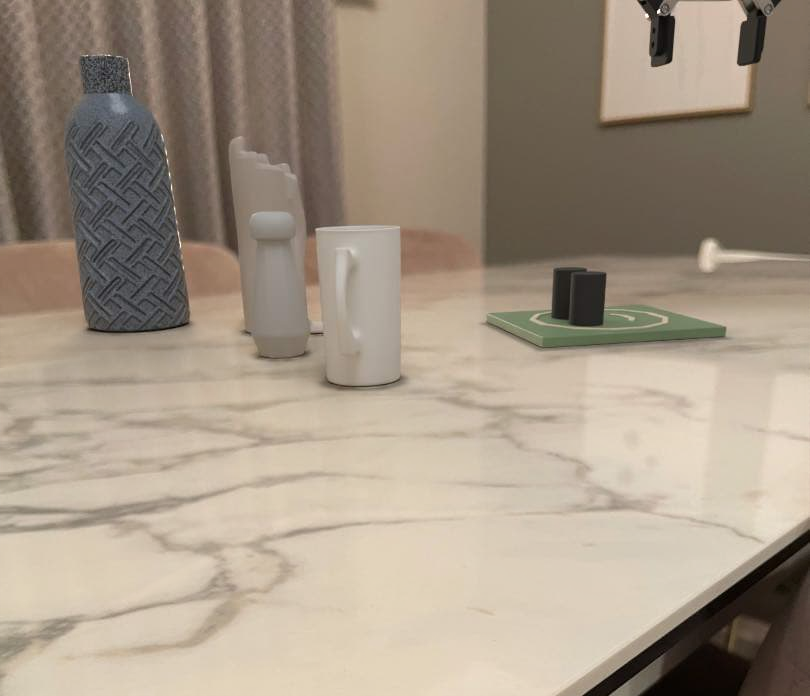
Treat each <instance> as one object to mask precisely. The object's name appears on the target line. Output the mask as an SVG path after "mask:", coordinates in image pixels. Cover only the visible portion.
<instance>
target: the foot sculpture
mask: <svg viewBox="0 0 810 696" xmlns="http://www.w3.org/2000/svg"><path fill="white" fill-rule="evenodd" d="M246 148H247V147H246V138H245V137H244V136H242V135H239V136H236V137H234V138H233V139H231V140H230V142H229V146H228V159H229V169H230V170H229V171H230V180H231V182H230V183H231V191H232V192H231V193H232V201H233V209H234V210H233V211H234V217H235V225H236V237H237V247H238V263H239V277H240V289H241V300H242V308H243V309H242V310H243V320H244V322H243V323H244V330H245V332H247V333H250V334H251V331H250V330H251V317H252V303H253V289H254V276H255V262H256V248H257V240H255V239H253V238H251V235H250V230H249V221H250V218H251V217H252V215H253V214H256V213H258V212H273V211H280V212H287V213H290V214H291V215H292V216H293V217H294V220H295V224H296V234H295V237H294V238H292V239H290V243H291V247H292V251H293V256H294V260H295V264H296V268H297V273H298V277H299V281H300V285H301V290H302V294H303V298H304V302H305V307H306V311H307V315H308V301H307V299H308V298H307V283H306V268H305V267H306V266H305V255H306V252H307V247H308V243H307V241H308V239H307V221H306V216H305V210H304V206H303V202H302V197H301V192H300V188H299V181H298V176H297V175H296V174H294V173H292V171H291V166H290V164H289V163H287V162H283V163H280V164H279V163H278V164H274V165H273V164H271V163H270V161H269V156H268V155H267V154H265V153H258V152H256V151H248V150H247V149H246ZM308 316H309V315H308ZM309 324H310V328H311V330H310V334H323V324H322V320H310V319H309Z"/></svg>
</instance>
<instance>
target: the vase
mask: <svg viewBox="0 0 810 696" xmlns="http://www.w3.org/2000/svg"><path fill="white" fill-rule="evenodd" d="M77 62H78V68H79V75H80V82H81V88H82V89H81V90H82V94H83V95H82V96H81V98H80V99H79V100H78V101H77V102H76V103H75V104H74V105H73V107H72V108H71V109H70V111H69V113H68V115H67V117H66V120H65V123H64V128H63V155H64V164H65V172H66V181H67V187H68V196H69V205H70V212H71V219H72V228H73V236H74V243H75V253H76V259H77V268H78V275H79V283H80V291H81V298H82V299H81V300H82V307H83V314H84V319H85V322H86V324H87V326H88V328H90V329H93V330H97V331H101V332H111V333H112V332H113V333H131V332H133V333H134V332H149V331H158V330H166V329H171V328H175V327H179V326H182V325H184V324H186V323H188V322H189V321H190V318H191V308H190V300H189V293H188V286H187V279H186V274H185V272H186V271H185V266H184V261H183V252H182V247H181V246H182V245H181V240H180V239H181V238H180V235H179V234H180V232H179V225H178V219H177V213H176V206H175V199H174V192H173V187H172V186H173V185H172V180H171V173H170V165H169V159H168V154H167V149H166V143H165V141H164V136H163V134H162V129H160V126H159V124H158V122H157V120H156V118H155V117H154V116H153V114H152V113H151V112H150V110H149V109H148V108H147V107H146V106H144V104H142V103H141V102H140V101H139V100H138V99H136V98H135V97H134V95H133V90H132V81H131V75H130V66H129V59H128V58H127V57H124V56H122V55H121V56H120V55H111V54H88V55H80V56H79V57H78V58H77Z"/></svg>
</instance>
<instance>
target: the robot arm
mask: <svg viewBox="0 0 810 696" xmlns="http://www.w3.org/2000/svg"><path fill="white" fill-rule="evenodd" d="M636 1H637V3H638V4H639V5H640V7H641V8H642V10H643V11H644V12H645V17H646V20H647V21H648V22H650V30H649V46H648V55H649V57H650V68H659V67H663V66H666V65H669V64H671V63H672V62H673V58H674V44H675V30H676V17H675V15H671V13H672V11H673V10H674V8H676V7H675V6H677V4H678V3H679V2H731V1H732V0H636ZM737 2H738V5H739V6H740V8H741V9H742V12H743V13H744V15H745V17H746V20H743V21H741V23H740V27H739V35H738V36H739V37H738V45H737V47H738V48H737V57H736V65H737V66H738V67H746V66H750V65H753V64H758V63H760V62H761V59H762V53H763V51H764V47H765V39H766V31H767V30H766V28H767V20H768V17H770V16H771V15H773V13H774V11H775V8H776V7H777V6H778V5H779V4H780V3H781V2H782V0H737Z"/></svg>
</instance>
